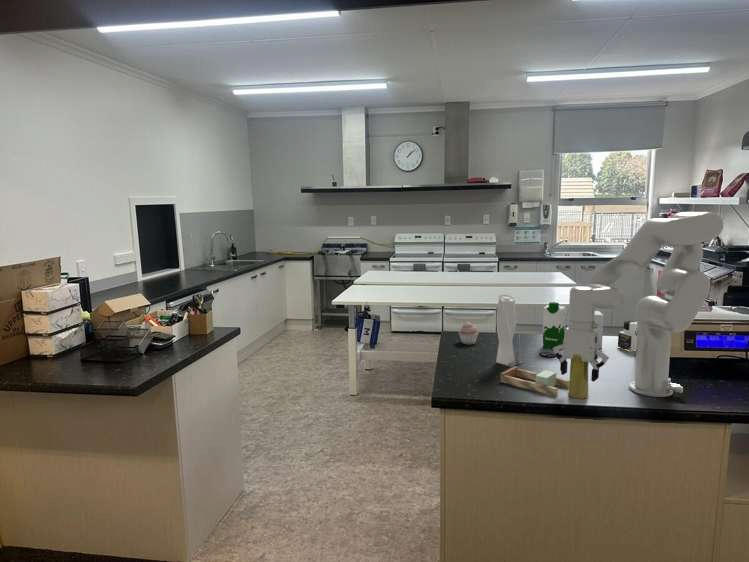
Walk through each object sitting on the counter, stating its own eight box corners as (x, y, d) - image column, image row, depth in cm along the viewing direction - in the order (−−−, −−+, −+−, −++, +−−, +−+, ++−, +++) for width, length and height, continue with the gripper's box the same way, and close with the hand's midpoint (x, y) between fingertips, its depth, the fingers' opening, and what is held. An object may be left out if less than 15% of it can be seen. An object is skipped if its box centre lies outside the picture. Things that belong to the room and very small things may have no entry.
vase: (590, 399, 155) (592, 356, 152) (569, 398, 156) (571, 355, 154) (586, 392, 160) (587, 350, 158) (566, 391, 162) (568, 350, 160)
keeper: (555, 385, 167) (556, 372, 166) (546, 391, 162) (546, 378, 161) (544, 382, 170) (545, 370, 169) (535, 388, 164) (535, 375, 164)
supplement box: (602, 349, 209) (604, 315, 207) (580, 348, 211) (581, 314, 209) (598, 343, 218) (599, 310, 216) (576, 342, 220) (578, 310, 218)
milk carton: (540, 348, 212) (542, 303, 209) (545, 343, 220) (546, 299, 217) (561, 350, 207) (563, 304, 205) (565, 345, 215) (567, 301, 212)
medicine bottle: (617, 347, 211) (618, 320, 209) (630, 346, 213) (631, 319, 211) (630, 352, 204) (632, 324, 202) (643, 350, 206) (645, 322, 204)
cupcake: (478, 340, 227) (478, 319, 225) (479, 345, 218) (479, 323, 216) (457, 339, 228) (457, 319, 227) (458, 345, 219) (458, 323, 217)
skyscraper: (508, 368, 186) (510, 296, 182) (491, 363, 193) (492, 293, 189) (521, 363, 192) (523, 293, 188) (504, 358, 198) (505, 291, 194)
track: (569, 387, 165) (569, 378, 165) (556, 396, 158) (556, 386, 157) (514, 374, 179) (515, 366, 179) (500, 382, 172) (500, 373, 171)
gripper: (613, 327, 151) (611, 380, 154) (559, 319, 163) (557, 368, 166) (605, 331, 146) (602, 386, 149) (549, 323, 158) (547, 374, 160)
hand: (578, 376), depth 157 cm, fingers open, 9 cm apart
